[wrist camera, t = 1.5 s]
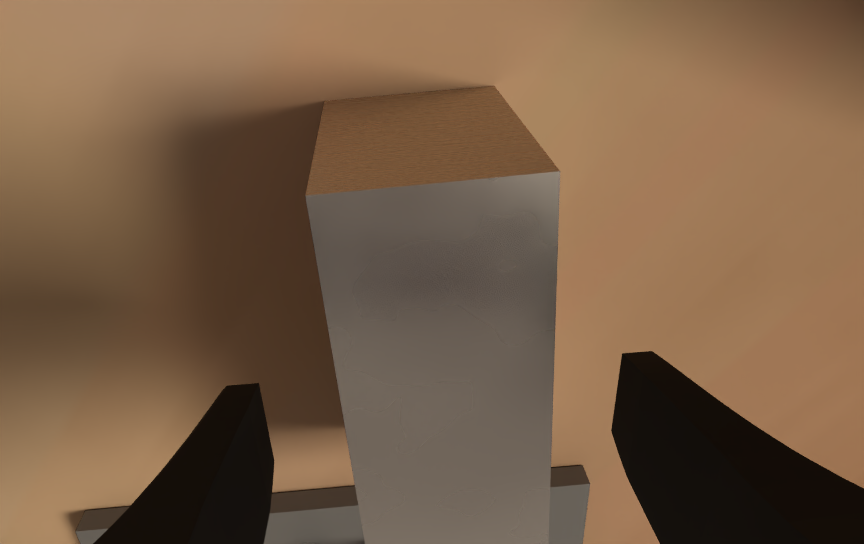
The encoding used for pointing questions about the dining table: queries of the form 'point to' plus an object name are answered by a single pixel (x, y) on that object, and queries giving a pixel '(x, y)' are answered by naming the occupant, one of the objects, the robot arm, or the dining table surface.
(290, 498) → the dock
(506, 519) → the block
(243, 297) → the dining table surface
